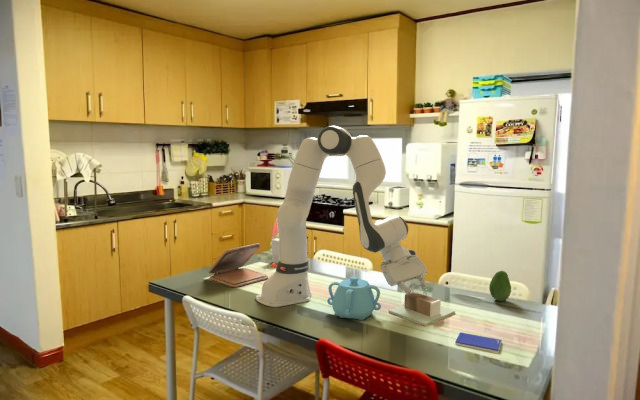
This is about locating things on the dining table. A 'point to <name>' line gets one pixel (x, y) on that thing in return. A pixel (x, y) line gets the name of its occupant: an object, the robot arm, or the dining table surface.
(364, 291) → the decorative pot
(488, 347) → the hard drive
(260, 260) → the dining table surface
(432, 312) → the walnut block
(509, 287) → the fruit
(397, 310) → the sage mat
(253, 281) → the case
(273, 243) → the skincare box
